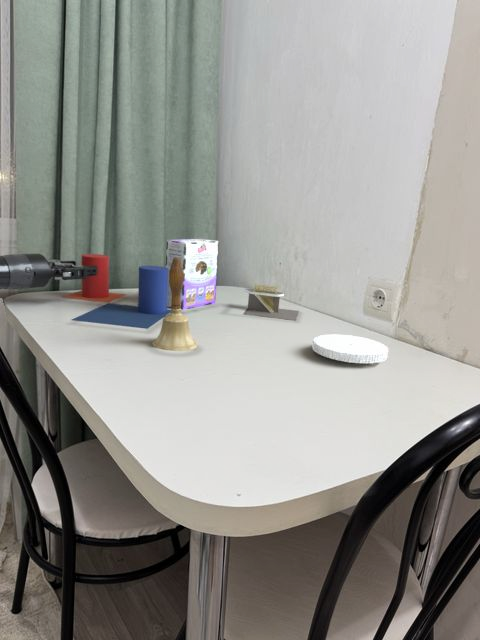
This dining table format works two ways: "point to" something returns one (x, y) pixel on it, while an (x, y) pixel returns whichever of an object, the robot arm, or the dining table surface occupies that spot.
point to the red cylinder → (96, 276)
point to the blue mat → (121, 316)
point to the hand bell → (175, 317)
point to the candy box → (194, 271)
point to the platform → (267, 304)
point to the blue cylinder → (152, 289)
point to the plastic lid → (350, 348)
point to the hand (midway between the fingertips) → (85, 267)
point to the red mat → (108, 299)
